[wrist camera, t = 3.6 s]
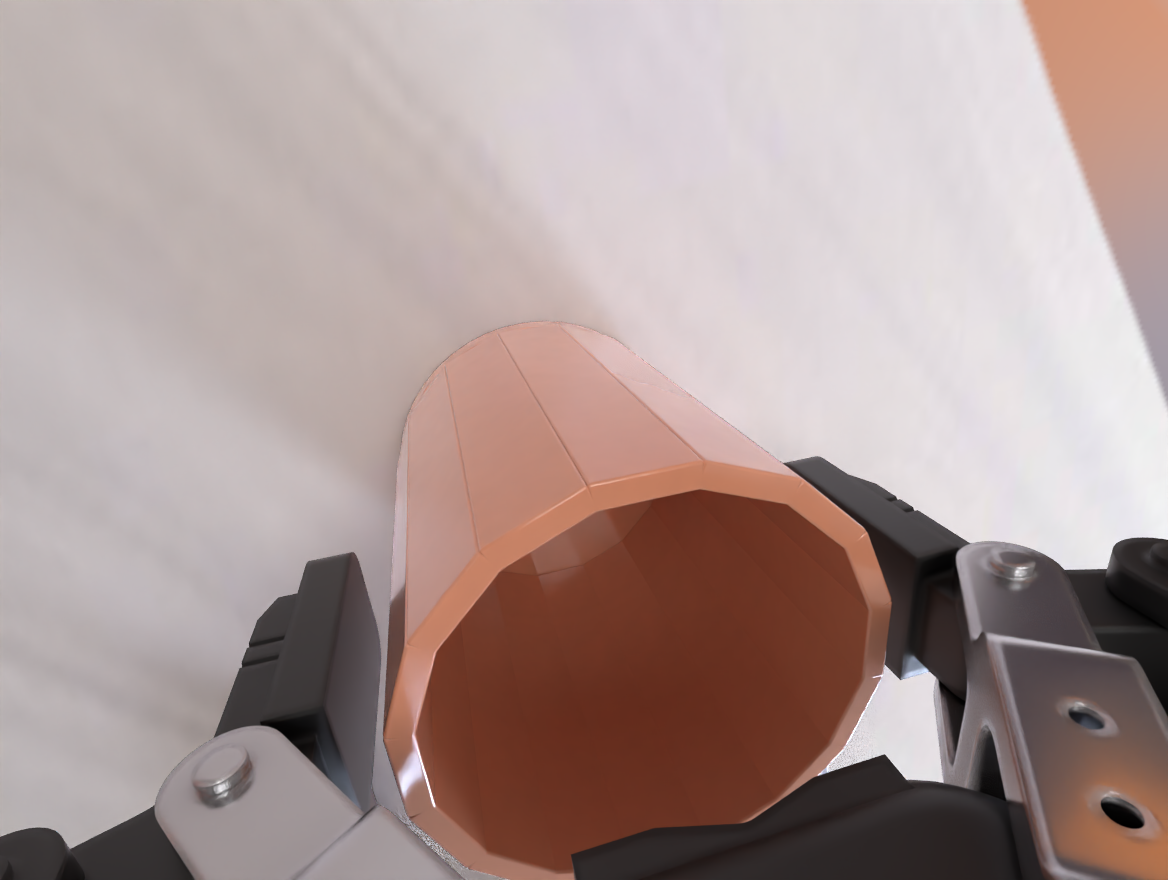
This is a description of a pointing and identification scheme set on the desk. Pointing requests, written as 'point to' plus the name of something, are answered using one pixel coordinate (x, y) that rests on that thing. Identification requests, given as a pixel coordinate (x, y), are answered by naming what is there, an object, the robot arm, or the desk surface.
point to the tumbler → (608, 608)
